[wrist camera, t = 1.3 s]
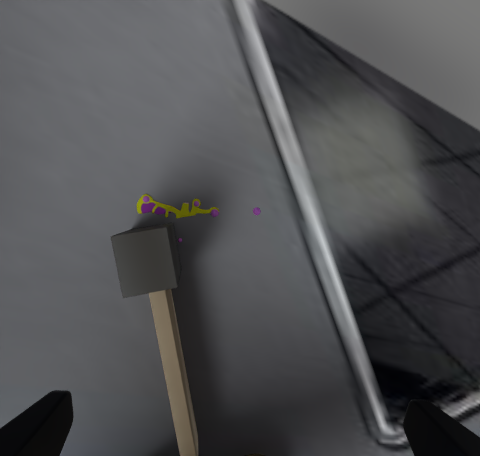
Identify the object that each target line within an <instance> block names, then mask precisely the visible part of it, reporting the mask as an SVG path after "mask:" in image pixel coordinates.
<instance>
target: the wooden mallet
mask: <svg viewBox="0 0 480 456" xmlns="http://www.w3.org/2000/svg"><path fill="white" fill-rule="evenodd" d="M111 241H112V246H113V251H114V256H115V261H116V266H117V271H118V276H119V281H120V286H121V291H122V296H123V298H127V297H132V296H137V295H142V294H147V293H149V296H150V302H151V307H152V312H153V317H154V322H155V328H156V333H157V338H158V343H159V348H160V354H161V359H162V364H163V369H164V374H165V380H166V385H167V390H168V395H169V400H170V406H171V411H172V416H173V421H174V426H175V431H176V437H177V442H178V447H179V452H180V456H198V433H197V427H196V422H195V416H194V411H193V405H192V400H191V395H190V389H189V384H188V378H187V373H186V368H185V362H184V357H183V351H182V346H181V340H180V335H179V330H178V324H177V319H176V313H175V308H174V303H173V297H172V292H171V289H173V288H177V287H178V282H179V278H180V273H181V264H180V259H179V253H178V247H177V242H176V236H175V231H174V225H173V223H168V224H162V225H156V226H150V227H143V228H137V229H131V230H128V231H125V232H122V233H119V234H116V235H113V236H111Z"/></svg>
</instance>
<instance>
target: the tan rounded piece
mask: <svg viewBox="0 0 480 456" xmlns="http://www.w3.org/2000/svg"><path fill="white" fill-rule="evenodd" d="M246 456H265V455H262V454H249V455H246Z"/></svg>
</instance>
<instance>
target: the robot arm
mask: <svg viewBox="0 0 480 456" xmlns="http://www.w3.org/2000/svg"><path fill="white" fill-rule="evenodd" d="M72 422H73V406H72V396H71V393H70V392H69V391H61V390H55V391H52V392H50V393H48V394H47V395H45V396H44V397H43V398H41V399H40V400H39V401H37V402H36V403H34V404H33V405H32V406H30V407H29V408H28V409H26V410H25V411H24V412H22V413H21V414H19V415H18V416H17V417H15V418H14V419H13V420H11V421H10V422H8V423H7V424H6V425H4V426H3V427H2V428H0V456H60V453H61V451H62V448H63V446H64V443H65V441H66V438H67V436H68V433H69V431H70V428H71V426H72ZM403 427H404V431H405V434H406V437H407V439H408V441H409V444H410V446H411V449H412V451H413V453H414V456H480V437H478V436H477V435H476V434H474V433H473V432H471V431H470V430H469V429H467V428H466V427H464V426H463V425H462V424H460V423H459V422H457V421H456V420H455V419H453V418H452V417H450V416H449V415H448V414H446V413H445V412H443V411H442V410H440V409H439V408H438V407H436V406H435V405H433V404H432V403H431V402H429V401H427V400H411V401H410V402H409V405H408V408H407V411H406V415H405V418H404V422H403Z"/></svg>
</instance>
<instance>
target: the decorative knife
mask: <svg viewBox="0 0 480 456" xmlns="http://www.w3.org/2000/svg"><path fill="white" fill-rule="evenodd" d="M200 205H201V202H200V200H199V199H194V200H193V202H192V209H191V212H189V209H188V208H189V204H188V202H187V203H185V202H184V203H183V204H182V208H181V210H177V209H176V208H174V207H172V206H169V205H165V204H162V203H159V202H156V201H154V200H153V199H152V197H151V196H149V195H147V194H144V195H143V196H142V197H141V198H140V199H139V201H138V203H137V211H138V213H139V214H142V213H147V212H152V213H153V214H154V213H156V214H165V213H166V214H165V217H168V213H171V212H174V213H175V214H176V218H181V217H188V216H192V215H196V213H203V214H206V213H211V215H212V216H213V217H216V216H218V214H219V209H218V208H216V207H212V208H210V209H209V210H203V209H200V208H199V207H200ZM253 213H254V214H255V215H259V214H260V209H259V208H254V210H253ZM178 242H182V238H179V239H178Z"/></svg>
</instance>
